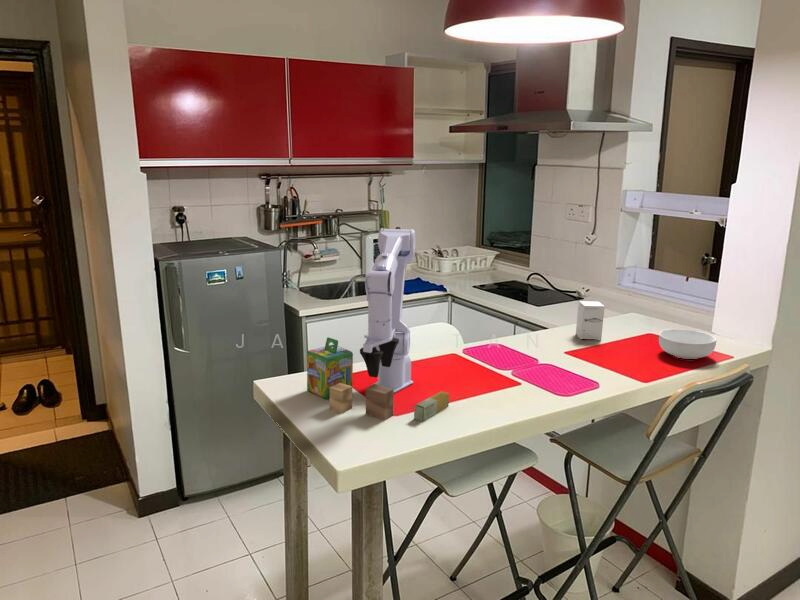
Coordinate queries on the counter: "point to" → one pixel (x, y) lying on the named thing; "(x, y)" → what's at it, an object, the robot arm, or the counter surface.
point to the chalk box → (328, 368)
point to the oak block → (340, 398)
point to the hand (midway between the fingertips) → (379, 371)
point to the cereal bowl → (687, 343)
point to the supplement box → (590, 320)
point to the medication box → (431, 406)
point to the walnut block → (379, 401)
